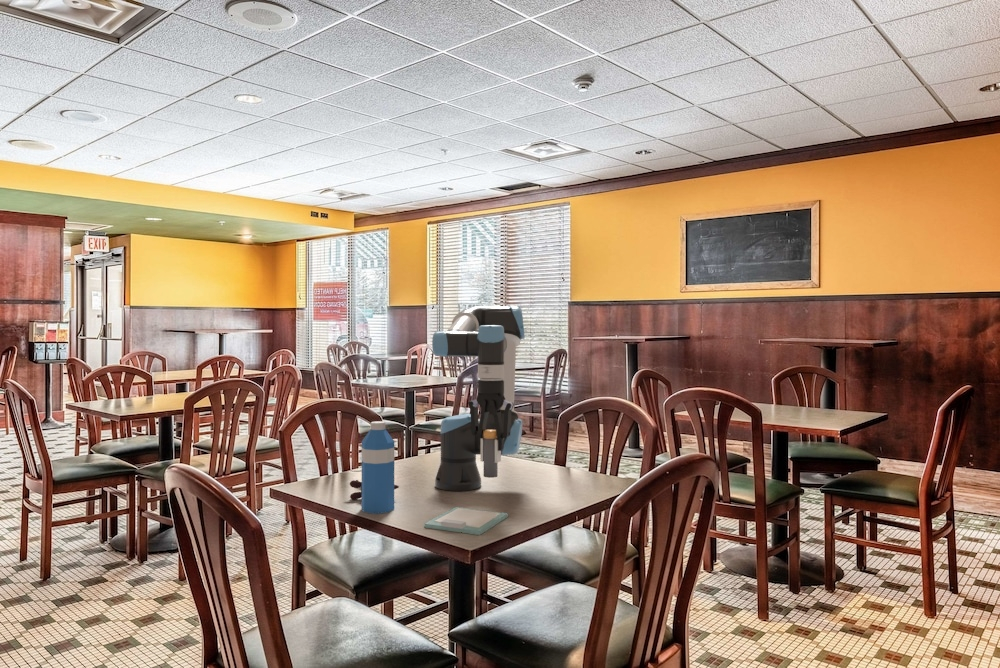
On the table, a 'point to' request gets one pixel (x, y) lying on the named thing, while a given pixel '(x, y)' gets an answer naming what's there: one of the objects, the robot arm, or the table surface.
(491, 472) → the marker
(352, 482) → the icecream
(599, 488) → the table surface
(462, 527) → the clipboard
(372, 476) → the water bottle
